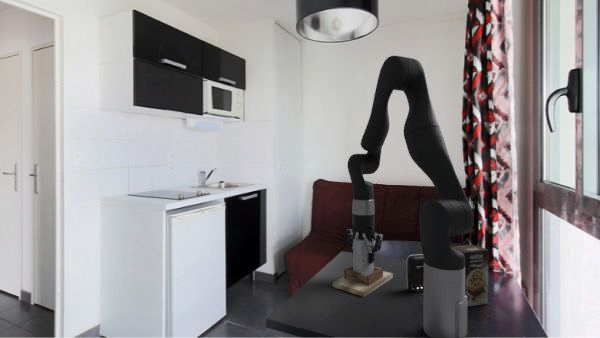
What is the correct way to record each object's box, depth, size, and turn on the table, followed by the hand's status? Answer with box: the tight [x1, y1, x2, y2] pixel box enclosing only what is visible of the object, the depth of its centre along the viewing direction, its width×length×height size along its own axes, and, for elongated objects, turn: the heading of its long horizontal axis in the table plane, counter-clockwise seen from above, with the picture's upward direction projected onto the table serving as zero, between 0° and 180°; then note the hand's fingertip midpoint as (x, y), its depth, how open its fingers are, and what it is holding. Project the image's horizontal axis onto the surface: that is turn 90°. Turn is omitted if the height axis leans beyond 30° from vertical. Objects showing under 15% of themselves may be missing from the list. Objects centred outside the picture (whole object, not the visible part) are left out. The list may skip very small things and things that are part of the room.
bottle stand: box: [331, 265, 394, 298], centre depth 110 cm, size 12×20×4 cm, turn 139°
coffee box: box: [451, 244, 490, 308], centre depth 95 cm, size 9×6×16 cm
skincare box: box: [352, 238, 375, 275], centre depth 110 cm, size 6×4×12 cm
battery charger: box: [405, 253, 424, 293], centre depth 103 cm, size 7×4×11 cm, turn 101°
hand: (363, 261), depth 110 cm, fingers closed on skincare box, 5 cm apart
